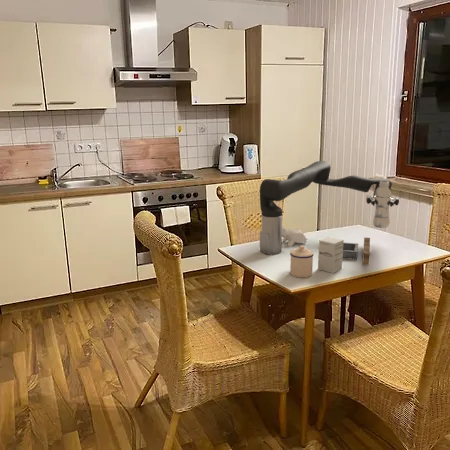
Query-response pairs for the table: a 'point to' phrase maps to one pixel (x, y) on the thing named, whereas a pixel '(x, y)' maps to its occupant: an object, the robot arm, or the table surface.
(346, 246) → the keeper
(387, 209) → the silver bottle
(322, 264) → the supplement box
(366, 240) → the wooden plank
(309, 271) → the teacup with lid
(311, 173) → the robot arm
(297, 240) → the white piece
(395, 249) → the table surface
